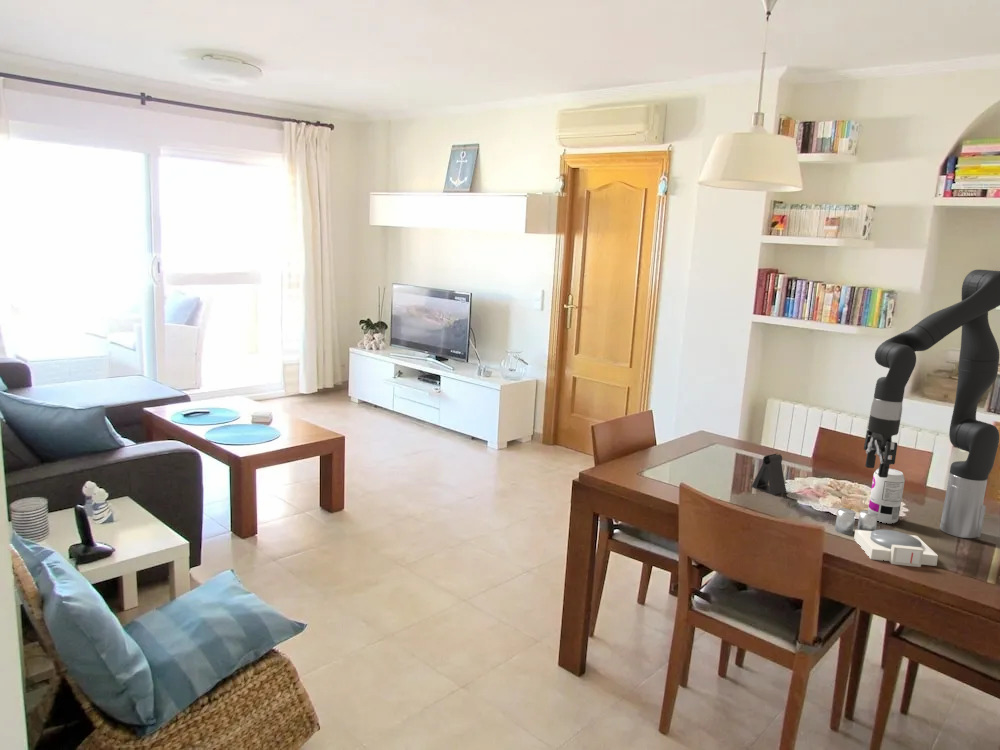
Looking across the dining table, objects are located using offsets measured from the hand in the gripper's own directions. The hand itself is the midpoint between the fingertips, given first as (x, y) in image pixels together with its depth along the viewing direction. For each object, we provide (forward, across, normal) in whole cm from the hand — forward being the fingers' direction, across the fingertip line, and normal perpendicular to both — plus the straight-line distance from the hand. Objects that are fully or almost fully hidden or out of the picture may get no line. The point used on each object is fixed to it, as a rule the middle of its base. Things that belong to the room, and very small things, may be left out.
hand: (875, 472), depth 201 cm
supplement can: (+18, +14, -10) cm, 25 cm away
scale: (+18, -12, -3) cm, 22 cm away
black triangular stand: (+19, +33, +18) cm, 42 cm away
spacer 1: (+18, +1, +5) cm, 19 cm away
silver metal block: (+18, +1, -1) cm, 19 cm away
